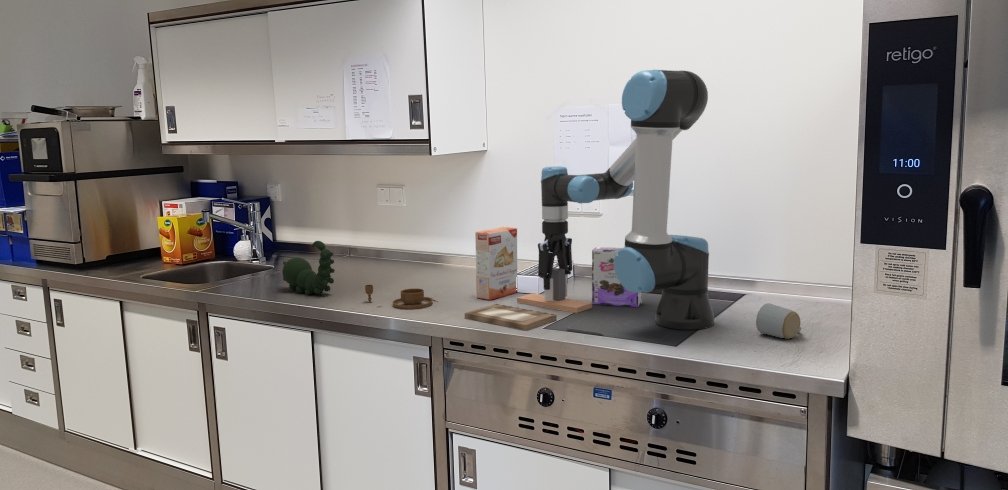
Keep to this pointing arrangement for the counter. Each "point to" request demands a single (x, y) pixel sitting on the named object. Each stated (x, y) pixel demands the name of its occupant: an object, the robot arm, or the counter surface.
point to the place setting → (406, 298)
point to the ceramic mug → (778, 321)
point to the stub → (556, 296)
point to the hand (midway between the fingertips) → (556, 297)
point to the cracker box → (496, 262)
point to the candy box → (609, 281)
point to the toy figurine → (309, 272)
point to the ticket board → (510, 316)
